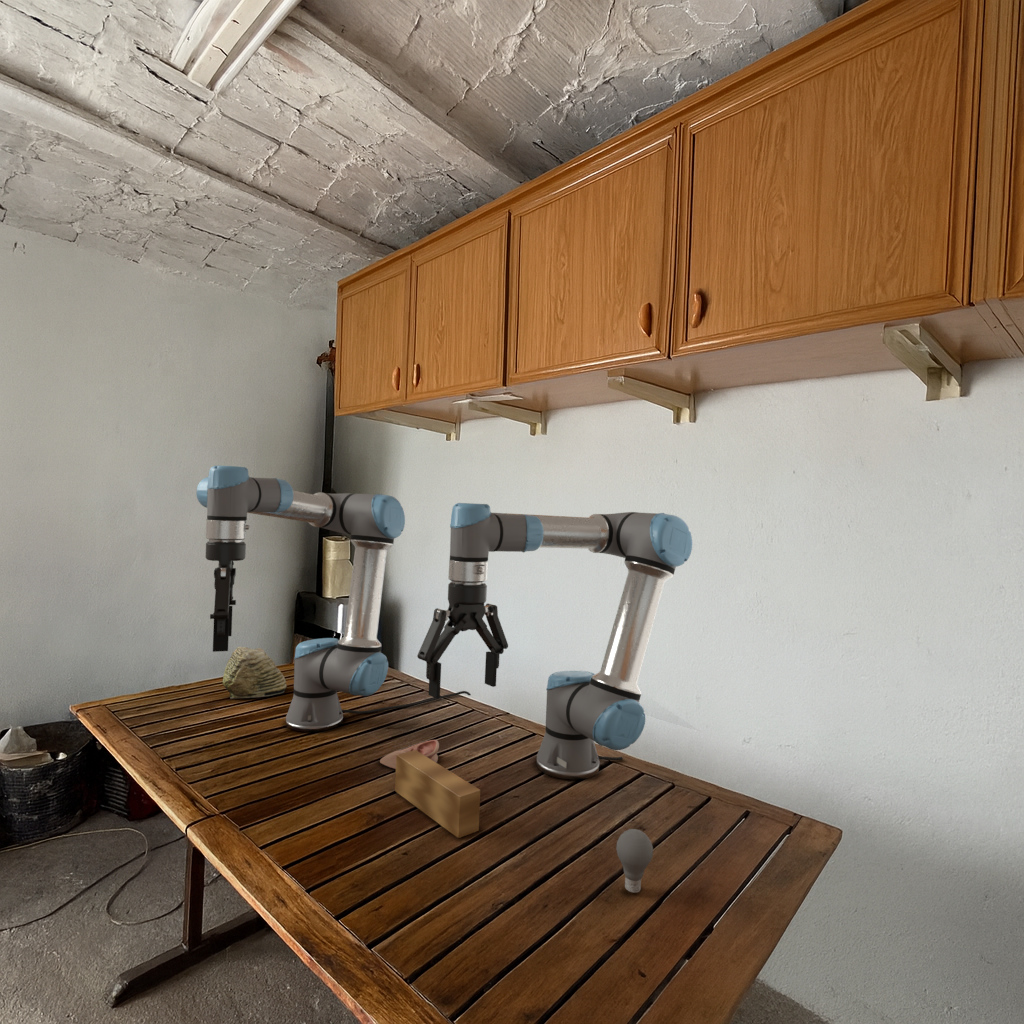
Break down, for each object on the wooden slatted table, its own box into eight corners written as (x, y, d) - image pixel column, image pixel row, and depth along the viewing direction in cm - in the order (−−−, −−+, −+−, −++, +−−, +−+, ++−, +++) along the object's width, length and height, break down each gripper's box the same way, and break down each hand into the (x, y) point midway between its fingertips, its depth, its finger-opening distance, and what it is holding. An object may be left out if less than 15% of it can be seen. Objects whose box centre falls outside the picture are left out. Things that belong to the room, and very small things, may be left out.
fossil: (218, 695, 195) (220, 647, 195) (278, 685, 208) (279, 640, 207) (228, 703, 189) (230, 653, 188) (289, 692, 201) (290, 645, 201)
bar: (394, 791, 138) (396, 754, 138) (414, 785, 141) (415, 749, 141) (458, 838, 120) (460, 796, 120) (478, 830, 123) (480, 790, 123)
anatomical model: (374, 749, 149) (393, 732, 160) (374, 766, 149) (393, 748, 161) (428, 756, 147) (443, 739, 158) (427, 774, 147) (443, 754, 158)
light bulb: (610, 879, 108) (613, 822, 108) (644, 879, 109) (647, 822, 109) (619, 902, 102) (622, 840, 102) (655, 901, 103) (658, 840, 103)
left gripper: (244, 546, 120) (240, 657, 121) (247, 536, 143) (244, 630, 144) (200, 545, 118) (196, 659, 118) (210, 536, 141) (207, 631, 141)
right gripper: (424, 588, 112) (419, 707, 113) (528, 581, 129) (523, 685, 129) (402, 583, 118) (397, 696, 118) (504, 576, 134) (499, 676, 135)
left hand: (222, 643), depth 131 cm, fingers open, 13 cm apart
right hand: (463, 690), depth 124 cm, fingers open, 13 cm apart
